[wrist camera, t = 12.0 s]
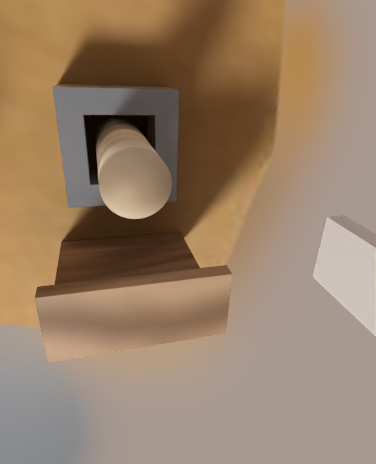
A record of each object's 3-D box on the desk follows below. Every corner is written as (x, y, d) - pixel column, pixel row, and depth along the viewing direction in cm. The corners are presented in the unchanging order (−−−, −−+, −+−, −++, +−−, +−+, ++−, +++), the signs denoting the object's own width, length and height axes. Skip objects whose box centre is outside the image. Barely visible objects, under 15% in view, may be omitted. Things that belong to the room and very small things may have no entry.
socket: (57, 83, 29) (52, 86, 25) (167, 86, 31) (179, 89, 27) (71, 191, 33) (68, 207, 29) (167, 186, 35) (176, 201, 32)
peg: (93, 116, 31) (95, 149, 18) (140, 117, 32) (172, 148, 20) (97, 163, 33) (101, 221, 20) (141, 162, 34) (171, 216, 22)
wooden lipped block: (56, 206, 33) (34, 298, 20) (181, 199, 37) (232, 274, 23) (63, 254, 36) (48, 362, 23) (179, 243, 39) (225, 333, 26)
